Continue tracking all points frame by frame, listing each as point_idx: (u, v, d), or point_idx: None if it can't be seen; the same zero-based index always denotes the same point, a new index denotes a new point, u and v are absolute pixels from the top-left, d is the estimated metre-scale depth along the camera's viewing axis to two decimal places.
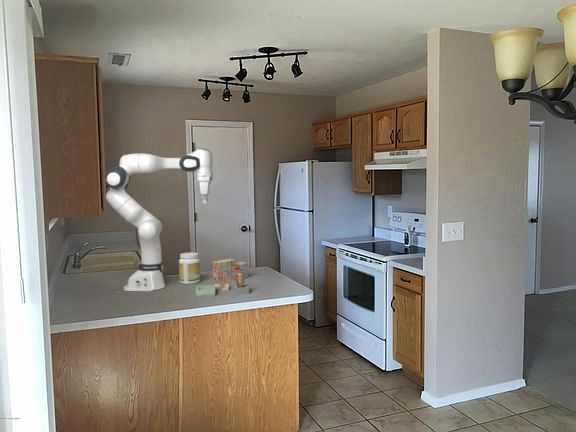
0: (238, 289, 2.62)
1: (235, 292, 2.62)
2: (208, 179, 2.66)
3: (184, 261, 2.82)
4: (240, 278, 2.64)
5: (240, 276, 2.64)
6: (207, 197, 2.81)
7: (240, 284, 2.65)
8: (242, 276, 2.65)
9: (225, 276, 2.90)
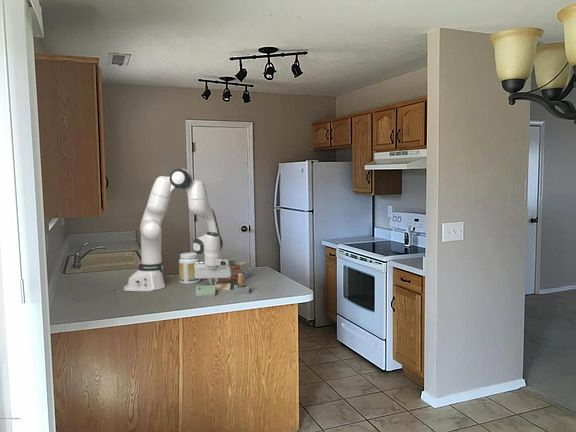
0: (238, 289, 2.62)
1: (235, 292, 2.62)
2: None
3: (184, 261, 2.82)
4: (240, 278, 2.64)
5: (240, 276, 2.64)
6: None
7: (240, 284, 2.65)
8: (242, 276, 2.65)
9: None
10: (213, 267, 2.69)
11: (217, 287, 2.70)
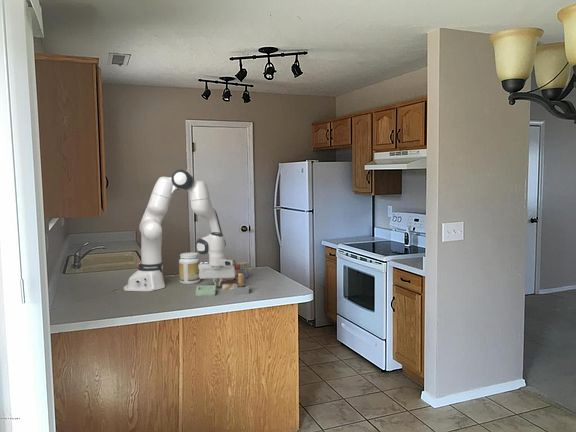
0: (238, 289, 2.62)
1: (235, 292, 2.62)
2: (232, 261, 2.75)
3: (184, 261, 2.82)
4: (240, 278, 2.64)
5: (240, 276, 2.64)
6: None
7: (240, 284, 2.65)
8: (242, 276, 2.65)
9: None
10: (217, 267, 2.69)
11: (223, 287, 2.71)
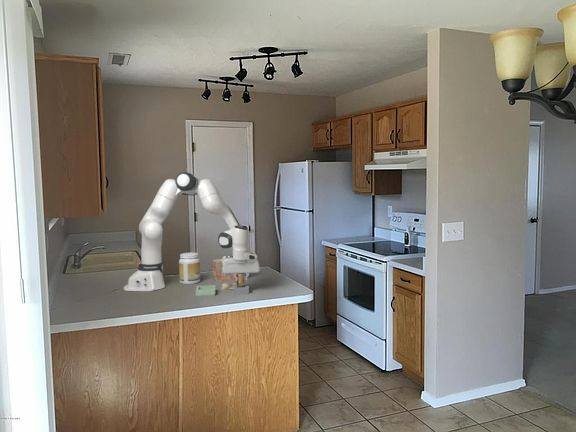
0: (238, 289, 2.62)
1: (235, 292, 2.62)
2: None
3: (184, 261, 2.82)
4: (240, 278, 2.64)
5: (240, 276, 2.64)
6: None
7: (240, 284, 2.65)
8: (242, 276, 2.65)
9: (224, 274, 2.93)
10: (242, 261, 2.62)
11: (223, 287, 2.71)
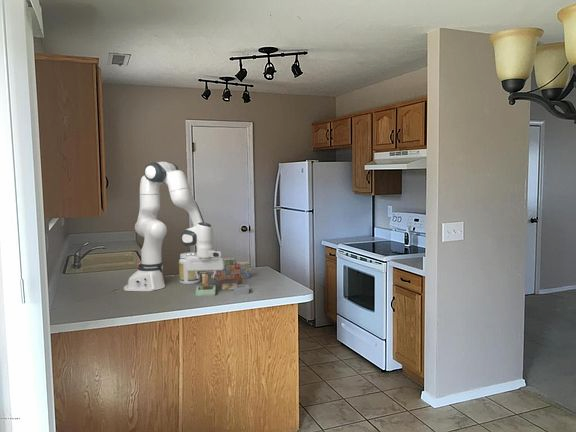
0: (238, 289, 2.62)
1: (235, 292, 2.62)
2: None
3: (184, 261, 2.82)
4: (204, 279, 2.61)
5: (204, 277, 2.61)
6: (197, 273, 2.63)
7: (204, 285, 2.62)
8: (206, 276, 2.61)
9: (224, 274, 2.94)
10: (205, 259, 2.59)
11: (223, 287, 2.71)
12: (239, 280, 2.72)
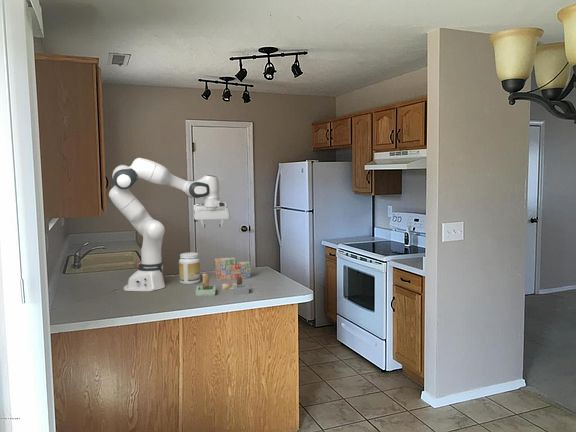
0: (238, 289, 2.62)
1: (235, 292, 2.62)
2: None
3: (184, 261, 2.82)
4: (204, 278, 2.62)
5: (204, 276, 2.61)
6: None
7: (204, 284, 2.62)
8: (206, 276, 2.62)
9: (224, 273, 2.95)
10: (212, 208, 2.77)
11: (223, 287, 2.71)
12: (239, 280, 2.72)
